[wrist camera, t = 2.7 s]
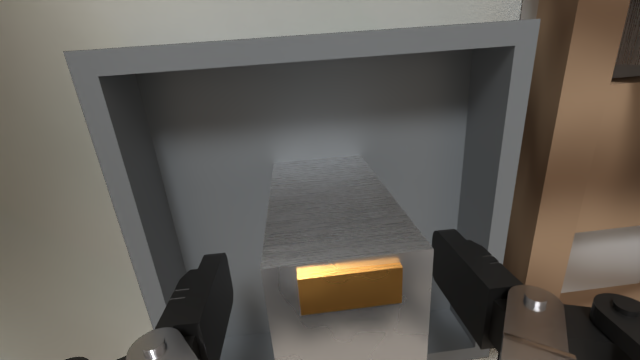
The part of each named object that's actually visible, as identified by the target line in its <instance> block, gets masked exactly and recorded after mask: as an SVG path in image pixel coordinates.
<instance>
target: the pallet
mask: <svg viewBox="0 0 640 360" xmlns="http://www.w3.org/2000/svg"><path fill="white" fill-rule="evenodd" d="M629 4H630V0H523V2H522V10H521V17H520V20H528V19H541V21H540V27H539V34H538V40H537V47H536V53H535V60H534V66H533V72H532V79H531V85H530V92H529V98H528V105H527V111H526V118H525V124H524V131H523V137H522V144H521V150H520V157H519V163H518V170H517V176H516V183H515V189H514V196H513V202H512V208H511V215H510V221H509V228H508V234H507V241H506V247H505V254H504V260H503V266H504V267H505V268H507V269H508V270H509V271H510V272H511V273H512V274H513V275H514V276H515V277H516V278H517V279H518V280H519V281H520V282H521V283H523V284H524V285H531V286H536V287H539V288H542V289H545V290H547V291H549V292H550V293H552V294H554V295H555V296H556V297H558V298H559V299H560V300H561V302H562V303H563V304H567V305H576V306H585V307H592V303H593V299H594V297H595V296H596V295H598V294H602V293H614V294H619V295H623V296H627V297H630V298H632V299H635V300H637V301H639V302H640V65H627V64H615V63H616V59H617V55H618V50H619V46H620V42H621V38H622V34H623V29H624V25H625V21H626V17H627V13H628V8H629Z"/></svg>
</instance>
